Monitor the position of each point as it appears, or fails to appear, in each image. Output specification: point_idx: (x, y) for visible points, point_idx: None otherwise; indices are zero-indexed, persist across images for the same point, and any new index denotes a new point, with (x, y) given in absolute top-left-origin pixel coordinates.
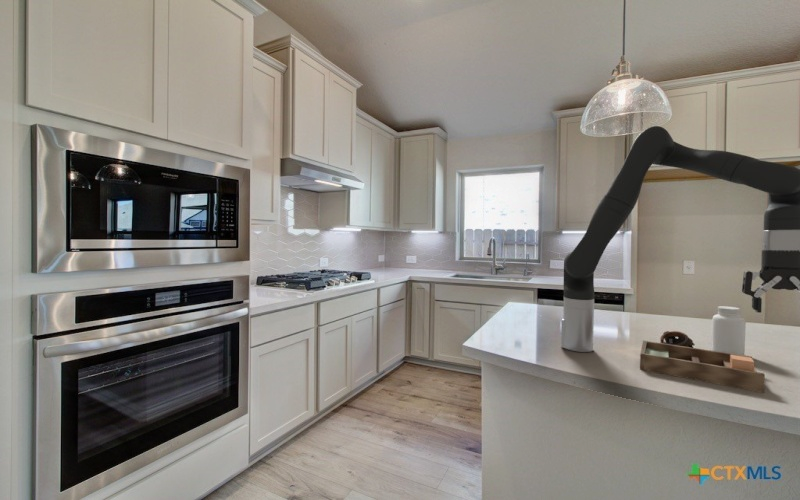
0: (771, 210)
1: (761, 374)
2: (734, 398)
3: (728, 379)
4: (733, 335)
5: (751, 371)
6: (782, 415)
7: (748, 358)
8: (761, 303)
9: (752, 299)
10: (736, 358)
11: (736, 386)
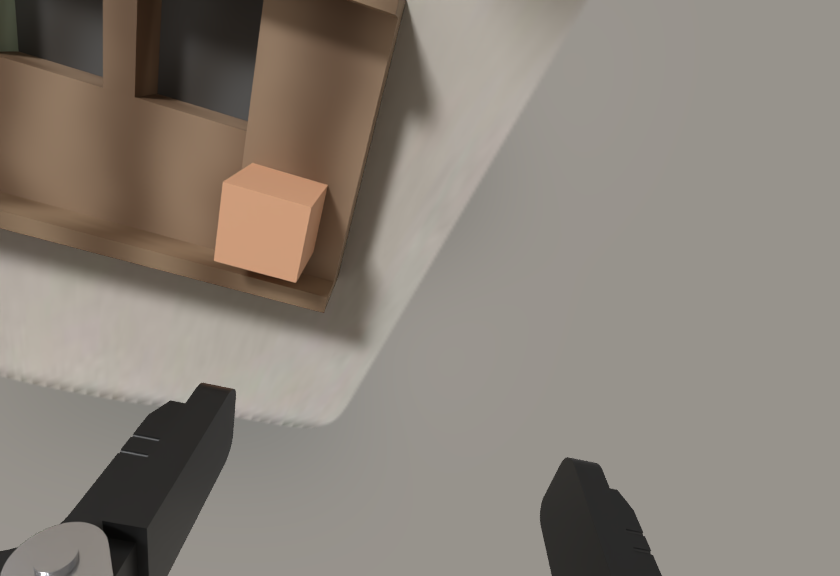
0: None
1: (314, 308)
2: (225, 357)
3: None
4: None
5: (286, 292)
6: (310, 427)
7: (292, 227)
8: (185, 539)
9: (87, 509)
10: (232, 251)
11: None
